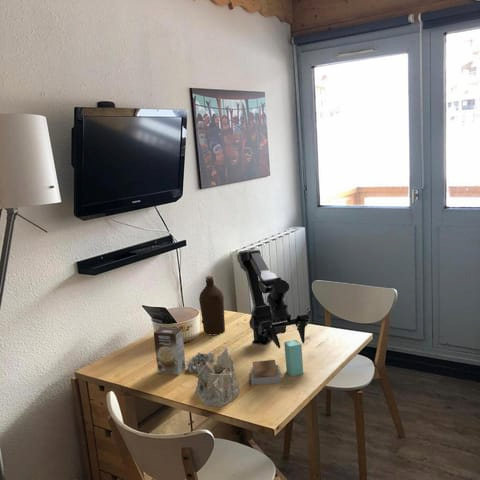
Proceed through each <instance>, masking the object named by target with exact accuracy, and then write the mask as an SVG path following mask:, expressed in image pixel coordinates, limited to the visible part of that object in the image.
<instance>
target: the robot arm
mask: <svg viewBox="0 0 480 480" xmlns="http://www.w3.org/2000/svg"><path fill="white" fill-rule="evenodd" d="M236 259H237V262H238V263H239V266H240V268H241V269H242V270H243V271H244V273H245V275H246V280H247V284H248V288H249V292H250V297H251V300H252V308H251V312H250V314H251V317H250V318H249V327H250V328H251V329H252V330H253V331H252V332H253V340H252V341H251V343H252V344H257V345H258V344H260V345H264V346H265V345H267V344H269V343H270V342H273V343H274V344H275V346H276V347H277V348H278V349H281V343H280V340H279V338H278V335H280V334H285V333H286V332H287V327H289V326H294V325H295V326H296V327H297V328H296V330H297V331H298V333H299V338H300V340H301V344H305V338H306V335H305V334H306V327H307V326H308V325H309V323H310V321H311V317H310V315H309V314H308V313H301V314H298V315H297V316H296V318H292V316H291V314H289V312H288V304H286V303H285V299H286V297H287V294H288V292H289V290H290V284H289V283H288V282H287V281H286V280H283V279H282V277H279V276H277V274H276V273H274V272H272V271H270V269H269V268H268V265H267V264H266V262H265V261H264V258H263V256H262V254H261V250H260V249H253V248H252V249H246V250H240V251H239V253H237V255H236ZM264 294H268V295H267V297H266V302H265V299H264V296H263V295H264Z"/></svg>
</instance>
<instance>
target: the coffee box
mask: <svg viewBox="0 0 480 480" xmlns="http://www.w3.org/2000/svg"><path fill="white" fill-rule="evenodd" d="M153 339H154V348H155V357H156V367H157V374H161V373H163V374H164V375H171V374H173V375H174V376H180V375H181V374H182V373H183V372H184V371H185V370H186V369H187V366H186V357H185V345H184V337H183V328H181V327H171V326H170V327H168V326H161V327H159V328H158V329H156V330H155V331H154V332H153ZM185 368H186V369H185Z"/></svg>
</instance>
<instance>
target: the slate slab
mask: <svg viewBox="0 0 480 480" xmlns="http://www.w3.org/2000/svg"><path fill="white" fill-rule="evenodd" d="M276 368H277V376H272V377H261V378H254V373H253V366H251V367H250V380H251V381H250V382H251V383H250V384H251V385H264V384H277V383H282V381H281V373H280V367H279V364H276Z"/></svg>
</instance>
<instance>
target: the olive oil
mask: <svg viewBox="0 0 480 480" xmlns="http://www.w3.org/2000/svg"><path fill="white" fill-rule="evenodd" d="M214 281H215V280H214V276H213V275H208V276H205V284H206V285H205V286H204V288H203V289H202V290H201V292H200V293H199V298H198V301H199V307H200V313H201V314H200V315H201V324H202V327H203V333H204V332H205V333H206V334H205V333H204V334H205V335H207V334H211V335H210V336H214V335H213V334H217V335H221V334H223V333H225V331H226V324H225V322H226V321H225V306H224V305H225V303H224V301H225V300H224V299H225V298H224V295H223V292H222V290H221V289H220V288H218V287H217V286H216V285H215V283H214ZM220 333H221V334H220Z"/></svg>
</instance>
